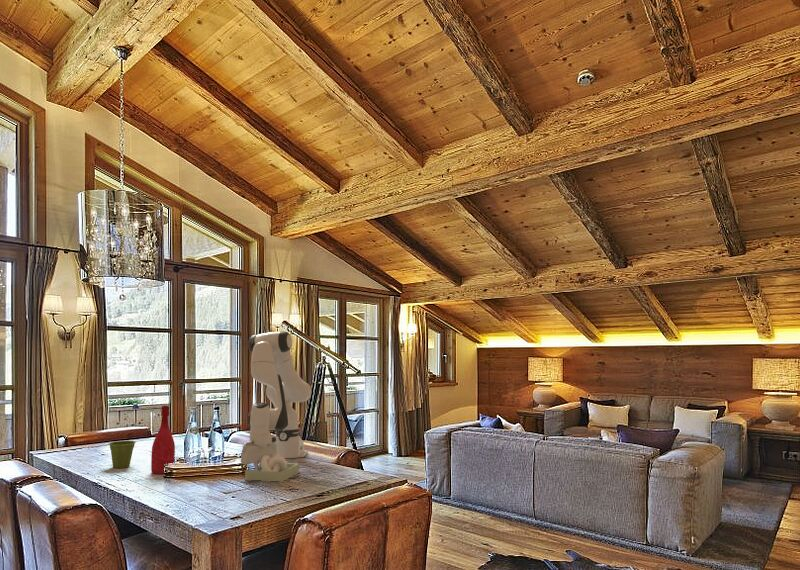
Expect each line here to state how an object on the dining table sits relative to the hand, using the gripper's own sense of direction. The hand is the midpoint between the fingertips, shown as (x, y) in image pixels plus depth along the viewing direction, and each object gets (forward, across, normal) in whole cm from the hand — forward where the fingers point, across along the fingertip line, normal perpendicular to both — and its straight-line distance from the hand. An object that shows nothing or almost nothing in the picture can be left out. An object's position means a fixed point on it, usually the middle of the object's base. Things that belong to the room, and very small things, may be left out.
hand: (258, 471), depth 266 cm
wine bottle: (+2, -17, +42) cm, 45 cm away
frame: (+2, +2, -6) cm, 7 cm away
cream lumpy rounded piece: (+2, +2, -5) cm, 6 cm away
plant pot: (+2, -18, +68) cm, 71 cm away
